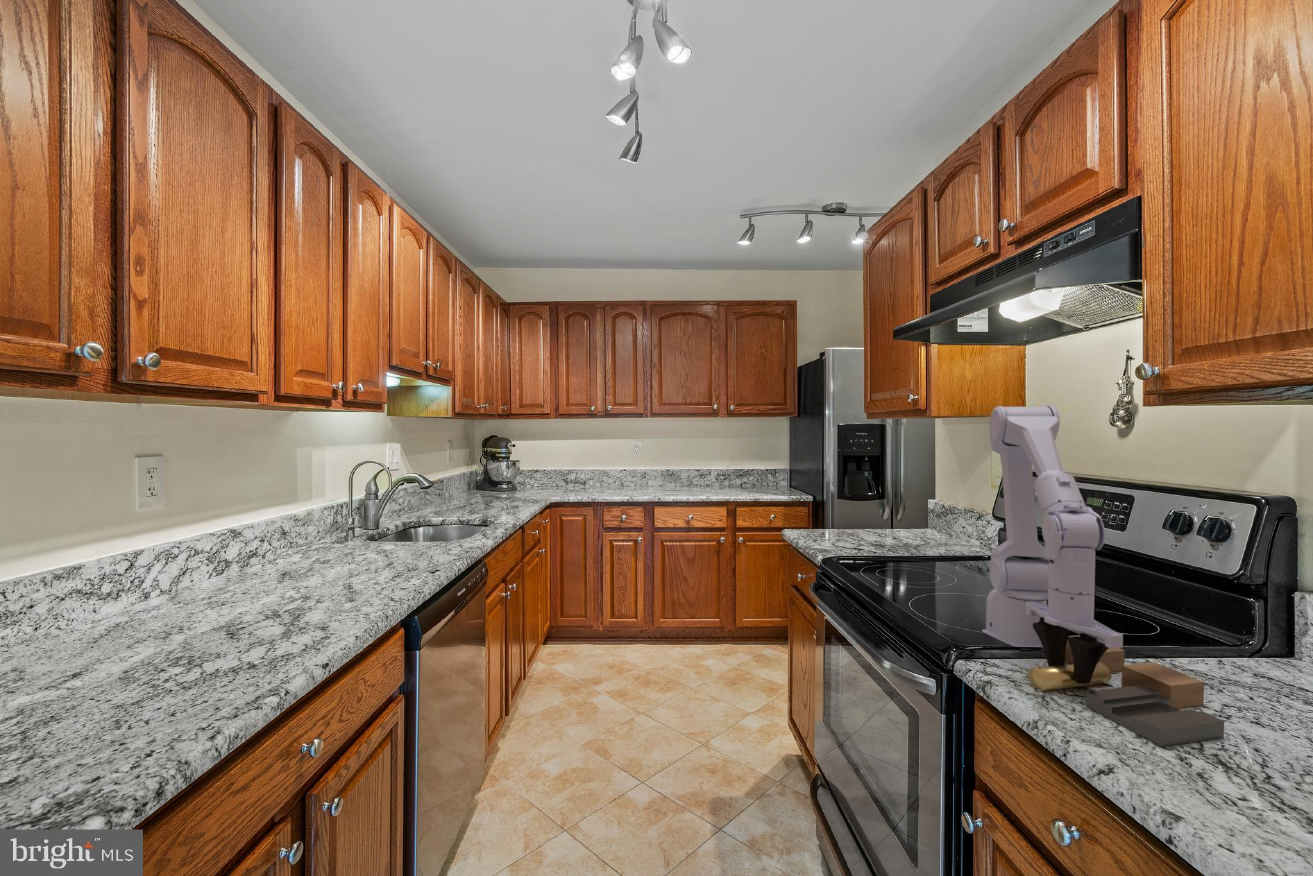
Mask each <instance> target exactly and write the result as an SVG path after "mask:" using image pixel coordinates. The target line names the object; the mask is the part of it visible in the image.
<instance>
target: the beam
mask: <svg viewBox="0 0 1313 876" xmlns="http://www.w3.org/2000/svg"><path fill="white" fill-rule="evenodd" d="M1076 636H1078V637H1080V634H1078V635H1069V637H1076ZM1125 652H1126V651H1125V649H1123V648H1114V649H1111V648H1108V649H1107V650H1106V652H1105V653H1104V654H1103V655H1102V657H1101V658H1100V660H1099V662H1101V663H1103V664H1104V665H1105V666H1106V667H1107V668H1108V669H1109V671H1110V673H1116V672H1121V687H1130V686H1138V685H1144V686H1146V687H1148V688H1151V689H1153V690H1155V691H1157V692H1160V693H1161V696H1162V697H1165V698H1167V699H1169V700H1170V706H1172V707H1174V708H1176V709H1183V708H1191V707H1199V706H1204V697H1205V681H1202V680H1200V679H1198V678H1195V677H1193V676H1190V675H1188V674H1185V673H1183V672H1181V671H1178V670H1175V669H1174V668H1173V669H1172V668H1170V667H1168V666H1165V665H1163V664H1160V663H1158V662H1155V661H1149V662H1148V661H1147V662H1140V663H1139V662H1138V663H1130V664H1125V658H1126V657H1125ZM1065 662H1066V663H1068V664H1074V662H1073V655H1072V651H1071V647H1070V645H1069V642H1068V641H1067V645H1066V654H1065Z"/></svg>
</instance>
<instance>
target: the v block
mask: <svg viewBox="0 0 1313 876" xmlns="http://www.w3.org/2000/svg"><path fill="white" fill-rule="evenodd" d="M1085 695H1086V696H1085V697H1086V698H1085V707H1086V708H1087V709H1089V710H1092V711H1094V712H1095V713H1097V714H1099V715H1101V716H1103V717H1105V718H1107V719H1108V720H1110V721H1113V722H1114V723H1116V724H1118V725H1120V726H1122V727H1124V728H1126V729H1128V730H1129V731H1131V732H1133V733H1134V734H1137V735H1138V736H1141V737H1142V738H1144V739H1146V740H1148V741H1150V742H1152V743H1154V744H1156V745H1158V746H1160V747H1161V748H1163V747H1171V746H1177V745H1183V744H1190V743H1197V742H1205V741H1211V740H1219V739H1224V738H1225V737H1224V736H1225V720H1223V719H1220V718H1218V717H1215V716H1214V715H1211V714H1210V713H1207V712H1205V711H1202V710H1201V711H1196V710H1193V709H1186V710H1181V709H1180V708H1177V709H1176V708H1174V707H1172V706H1170V700H1169V699H1167V698H1165V697H1162V696H1161V693H1160V692H1157V691H1155V690H1153V689H1151V688H1148V687H1146V686H1144V685H1138V686H1130V687H1122V686H1121V687H1115V688H1113V687H1112V688H1106V689H1098V690H1096V689H1095V690H1090V691H1086V693H1085Z"/></svg>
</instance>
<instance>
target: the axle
mask: <svg viewBox="0 0 1313 876" xmlns="http://www.w3.org/2000/svg"><path fill="white" fill-rule="evenodd" d="M1111 673H1112V672H1110V671H1109V669H1108V668H1107V667H1106V666H1105V665H1104V664H1103V663H1101V662H1098V663H1097V665H1096V668H1095V670H1094V672H1093V675H1092V678H1091V681H1090V683H1085V684H1078V683H1076V682H1075V679H1074V664H1071V663H1069V664H1065V665H1061V666H1052V667H1049V666H1046V667H1045V666H1043V667H1037V668H1035V667H1033V668H1030V669H1029V670H1028V671H1027V679H1028V682H1029V684H1030V686H1031V687H1033V688H1035V689H1036V690H1038V691H1040V692H1045V691H1053V690H1062V689H1071V688H1079V687H1087V686H1088V687H1089V686H1096V685H1097V686H1098V685H1104V684H1108V683H1110V682H1111V679H1112V674H1111Z"/></svg>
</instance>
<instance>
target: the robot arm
mask: <svg viewBox="0 0 1313 876" xmlns="http://www.w3.org/2000/svg"><path fill="white" fill-rule="evenodd" d="M990 413H991V414H990V419H989V423H988V428H989V429H988V430H989V442H990V446H991V447H990V448H991V451H992V452H994V453H996V454H999V458H1000V462H1001V463H1000V465H1001V474H1002V489H1003V490H1002V491H1003V502H1004V503H1003V504H1004V517H1005V530H1006V540H1005V541H1004V542H1002V543H1001V544H999V545H998V546H996V547H995V548H994V549H993V550H992V551H991V555H990V565H989V577H990V581H991V585H992V586H993V588H994V589H991V591H990V592H989V594H988V595H987V597H986V607H985V608H986V609H985V610H986V612H985V613H986V614H985V619H986V620H985V621H986V622H985V629H982V631H981V632H982V633H984V634H985V635H988V636H989V637H992V638H994V639H996V640H998V641H1000V642H1002V643H1003V644H1006V645H1008V644H1009V645H1008V646H1010V645H1011V646H1010V647H1012V646H1040V647H1043V649H1042V650H1043V651H1044V655H1045V658H1046V662H1047V667H1052V666H1061V665H1066V661H1065V654H1066V645H1067V641H1068V642H1069V645H1070V647H1071V651H1072V655H1073V662H1074V679H1075V682H1076V683H1078V684H1085V683H1090V681H1091V678H1092V675H1093V672H1094V670H1095V668H1096V665H1097V663H1098V662H1099V660H1100V658H1101V657H1102V655H1103V654H1104V653H1105V652H1106V650H1107V649H1108V648H1111V649H1114V648H1120V649H1123V647H1124V646H1123V645H1124V634H1123V633H1119V632H1117V631H1116V630H1113V629H1111V628H1110V627H1108V626H1106V625H1105V624H1102V623H1101V622H1100V621H1097V620H1095V618H1094V616H1095V585H1096V584H1095V583H1096V582H1095V581H1096V580H1095V579H1096V577H1095V576H1096V551H1099V550H1101V549H1102V548H1103V546H1104V543H1105V539H1106V530H1105V526H1104V522H1103V519H1102V517H1101V516H1100V515H1099V514H1098V513H1097V512H1095V511H1094V510H1093V508H1092V507H1090V506H1087V505H1086V503H1085V500H1084V498H1083V496H1082V494H1081V492H1080V488H1079V487H1078V485H1077V482H1076V479H1075V477H1074V476H1073V475H1072V474H1070V473H1068V472H1064V470H1063V466H1062V462H1061V459H1060V456H1059V452H1058V449H1057V445H1056V439H1057V436H1058V433H1059V430H1060V423H1061V422H1060V420H1061V419H1060V415H1059V412H1058V410H1057V409H1056V408H1055V407H1054V406H1053V405H1044V406H1002V405H997V406H995V407H994V409H993V410H992V411H991V412H990ZM1033 470H1034V472H1035V474H1036V476H1037V478H1036V479H1035V481H1034V477H1033ZM1035 495H1036V497H1037V500H1038V504H1039V505H1040V508H1041V511H1042V515H1043V517H1044V518H1043V521H1042V527H1041V531H1042V532H1041V533H1042V539H1043V541H1044V546H1043V545H1042V544H1041V543H1039V537H1038V526H1037V517H1036V503H1035ZM1010 557H1024V558H1025V557H1028V558H1034V559H1024V558H1010ZM1071 632H1073V633H1076V634H1078V635H1080V637H1078V636H1076V635H1075V636H1076V637H1069V636H1070V634H1071Z"/></svg>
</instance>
